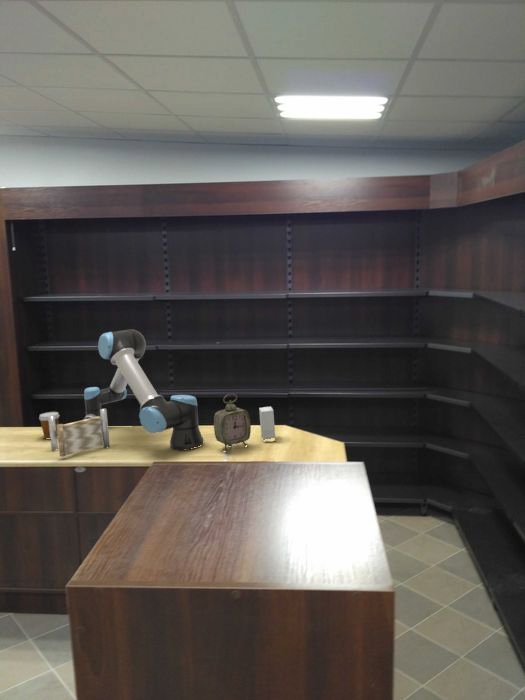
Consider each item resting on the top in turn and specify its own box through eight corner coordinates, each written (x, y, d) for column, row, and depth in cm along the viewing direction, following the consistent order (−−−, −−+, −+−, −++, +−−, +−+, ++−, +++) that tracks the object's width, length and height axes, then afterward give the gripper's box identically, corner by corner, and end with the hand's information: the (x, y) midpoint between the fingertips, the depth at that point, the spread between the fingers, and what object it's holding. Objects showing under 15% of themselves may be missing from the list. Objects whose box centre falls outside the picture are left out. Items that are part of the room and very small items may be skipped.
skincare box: (275, 442, 248) (274, 410, 245) (262, 443, 247) (261, 411, 245) (273, 436, 256) (271, 405, 254) (260, 437, 255) (258, 406, 253)
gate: (101, 444, 251) (98, 414, 249) (103, 445, 249) (100, 415, 247) (59, 455, 238) (55, 424, 236) (61, 457, 236) (57, 425, 234)
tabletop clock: (223, 455, 234) (220, 398, 230) (213, 449, 241) (210, 394, 237) (251, 447, 242) (249, 392, 238) (241, 442, 249) (238, 389, 245)
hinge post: (110, 445, 253) (106, 408, 250) (109, 447, 250) (105, 409, 247) (104, 446, 253) (100, 408, 250) (102, 448, 250) (99, 410, 247)
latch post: (59, 448, 252) (55, 415, 249) (57, 450, 249) (53, 417, 247) (52, 449, 252) (49, 415, 249) (50, 451, 249) (47, 417, 247)
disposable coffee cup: (48, 442, 263) (45, 417, 261) (37, 438, 269) (34, 415, 267) (65, 436, 270) (63, 413, 268) (54, 433, 276) (52, 410, 274)
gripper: (103, 430, 266) (90, 446, 243) (76, 432, 266) (60, 448, 243) (102, 415, 265) (89, 430, 242) (74, 417, 265) (59, 432, 241)
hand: (74, 439), depth 242 cm, fingers closed
